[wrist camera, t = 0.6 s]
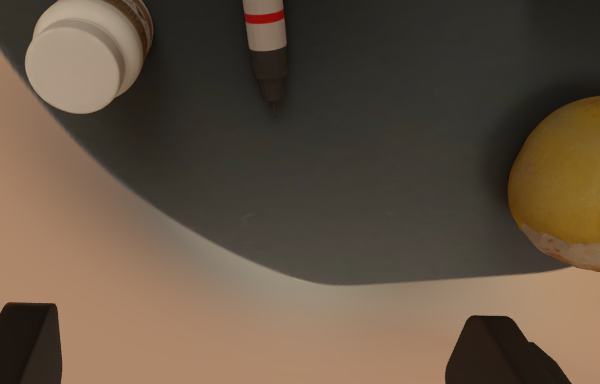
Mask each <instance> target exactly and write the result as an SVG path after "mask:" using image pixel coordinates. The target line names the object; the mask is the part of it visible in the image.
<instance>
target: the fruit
mask: <svg viewBox="0 0 600 384" xmlns="http://www.w3.org/2000/svg"><path fill="white" fill-rule="evenodd" d="M508 200H509V207H510V211H511V214H512V216H513V218H514V219H515V221H516V223H517V225H518V229H519V230H522V231H523V232H524V233H525V234H526V235H527V237H528V238H529V239H530V240H531V242H532V243H533V244H534V245H535V246H536V247H537V248H538V249H539V250H540V251H542V252H543V253H545V254H547V255H551V256H552V257H554V258H557V259H558V260H560V261H562V262H564V263H569V264H572V265H573V266H575V267H576V268H581V269H586V270H592V271H596V272H600V96H595V97H588V98H584V99H581V100H577V101H574V102H572V103H569V104H567V105H565V106H563V107H561V108H559V109H557V110H556V111H554V112H553V113H551V114H550V115H549V116H547V117H546V118H545V119H544V120H543V121H542V122H541V123H540V124H539V125H538V126H537V127H536V128H535V129H534V130H533V131H532V132H531V133H530V135H529V136H528V138H527V139H526V141H525V143H524V145H523V146H522V148H521V150H520V152H519V154H518V156H517V158H516V160H515V162H514V164H513V166H512V169H511V172H510V176H509V182H508Z"/></svg>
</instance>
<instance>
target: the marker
mask: <svg viewBox="0 0 600 384" xmlns="http://www.w3.org/2000/svg"><path fill="white" fill-rule="evenodd" d="M243 7H244V14H245V21H246V28H247V36H248V43H249V49H250V52H251V59H252V67H253V74H254V77H256V78H258V79H259V82H260V86H261V90H262V94H263V98H264V100H265V101H269V102H272V105H273V112H274V118H276V110H275V101H279V100H282V99H283V98H284V82H285V75H287V74H288V72H289V69H288V59H287V49H286V44H287V41H286V30H285V20H284V10H283V0H243Z"/></svg>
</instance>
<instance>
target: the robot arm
mask: <svg viewBox="0 0 600 384" xmlns="http://www.w3.org/2000/svg"><path fill="white" fill-rule="evenodd" d="M58 322H59V321H58V311H57V307H56V305H55V304H53V303H13V302H9V303H7V304H6V305H5V306H4V307H3V309H2V311H1V313H0V384H61V377H62V355H61V343H60V332H59V323H58ZM445 383H446V384H571V382H570V381H569V380H568V378H567V377H566V375H565V374H564V373H563V371H562V370H561V368H560V367H559V366H558V364H557V363H556V362H555V361H554V360H553V359H552V358H551V357H550V356H548V355H547V354H546V353H545V352H544V351H543V350H542V349H540V348H539V347H538V346H537V345H536V344H535V343H533V342H528V341H527V339H526V338H525V336H524V335H523V333H522V332H521V330H520V329H519V327H518V326H517V324H516V323H515V322H514V321H513V320H512V319H511V318H509V317H507V316H477V315H474V316H471V317H469V318H468V320H467V321H466V323H465V325H464V328H463V330H462V332H461V334H460V336H459V339H458V341H457V343H456V346H455V348H454V350H453V352H452V354H451V357H450V359H449V361H448V364H447V367H446V372H445Z"/></svg>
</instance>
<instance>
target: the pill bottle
mask: <svg viewBox="0 0 600 384" xmlns="http://www.w3.org/2000/svg"><path fill="white" fill-rule="evenodd" d="M152 39H153V23H152V19H151V16H150V14H149V11H148V9H147V7H146V6H145V4H144V3H143V1H142V0H58V1H57V2H56V3H55V4H53V5H52V6H51V7H50V8H48V9H47V10H46V11H45V12H44V13H43V15H42V16H41V17H40V19H39V21H38V22H37V24H36V27H35V30H34V34H33V41H32V42H31V44H30V45H29V48H28V50H27V53H26V58H25V69H26V74H27V77H28V79H29V81H30V83H31V85H32V87H33V88H34V90H35V91H36V92H37V93H38V95H39V96H40V97H41V98H42V99H43V100H45V101H46V102H47V103H49V104H50V105H52V106H54V107H56V108H58V109H60V110H63V111H66V112H70V113H76V114H86V113H91V112H95V111H98V110H100V109H102V108H104V107H105V106H107V105H108V104H109V103H110V102H111V101H112V100H113V99H114V98H115V97H117V96H119V95H121V94H122V93H124V92H125V91H126V90H128V89H129V87H130V86H131V85H132V84H133V83H134V81H135V80H136V78H137V77H138V75H139V73H140V71H141V68H142V65H143V63H144V61H145V58H146V56H147V53H148V51H149V48H150V46H151V44H152Z"/></svg>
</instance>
